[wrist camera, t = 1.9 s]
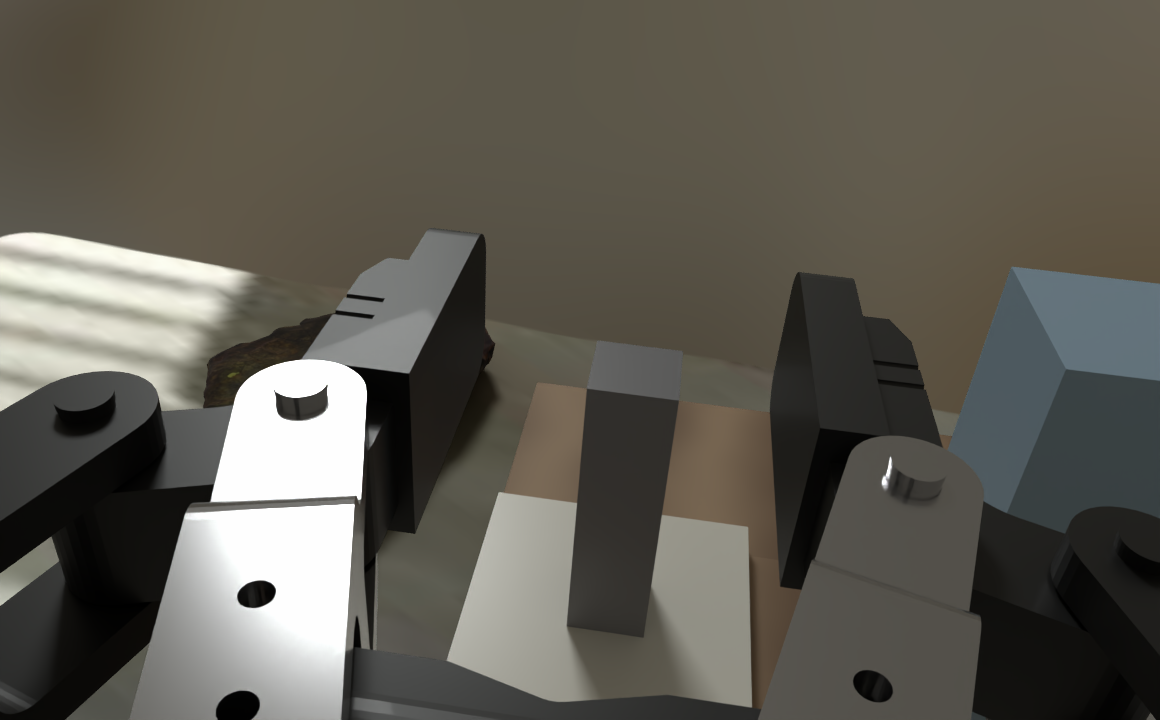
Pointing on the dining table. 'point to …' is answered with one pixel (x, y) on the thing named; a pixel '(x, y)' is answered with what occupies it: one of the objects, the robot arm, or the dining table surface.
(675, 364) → the lid
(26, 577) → the dining table surface
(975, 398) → the block
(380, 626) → the dining table surface
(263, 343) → the stone
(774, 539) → the board
